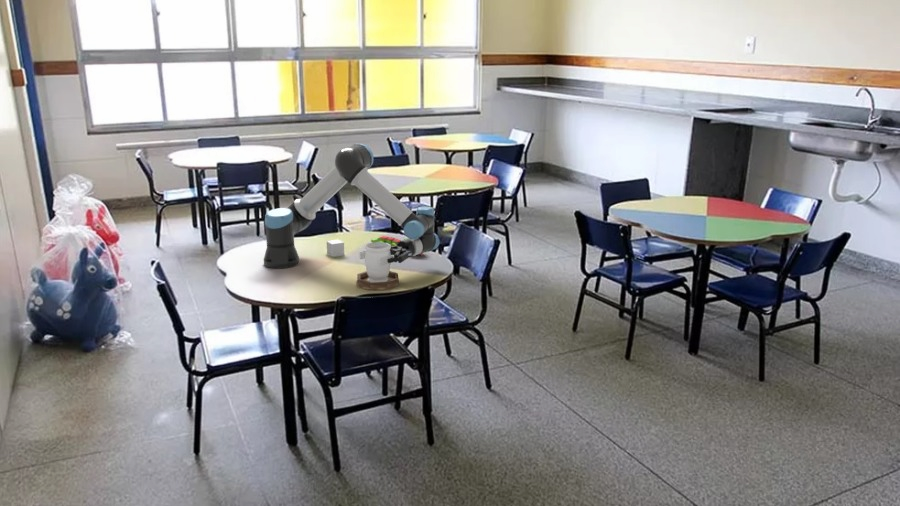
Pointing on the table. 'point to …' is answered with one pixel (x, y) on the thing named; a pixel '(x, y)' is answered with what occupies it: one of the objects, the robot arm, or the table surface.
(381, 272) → the jar
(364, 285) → the tray
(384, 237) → the toy crocodile
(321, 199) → the robot arm
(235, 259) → the table surface
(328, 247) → the white cube
